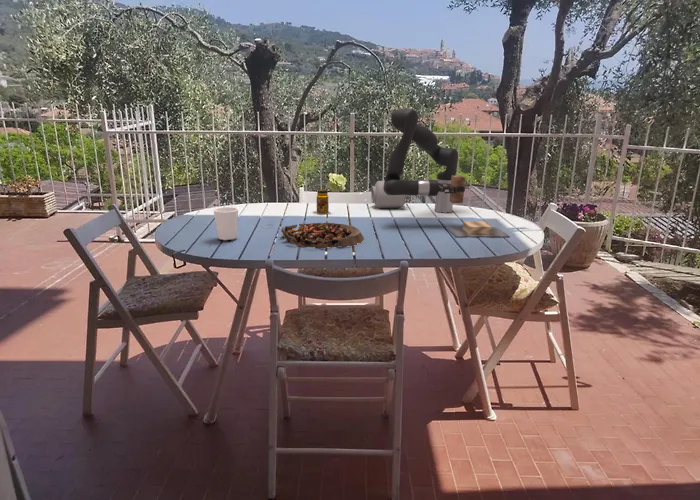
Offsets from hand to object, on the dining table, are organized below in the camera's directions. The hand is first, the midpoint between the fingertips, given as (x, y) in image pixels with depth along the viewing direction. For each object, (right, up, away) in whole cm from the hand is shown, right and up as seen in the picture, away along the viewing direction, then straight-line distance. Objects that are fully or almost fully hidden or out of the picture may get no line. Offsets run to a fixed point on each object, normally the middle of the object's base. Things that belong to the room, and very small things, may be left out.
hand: (462, 188), depth 227 cm
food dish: (-64, -24, -20) cm, 71 cm away
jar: (-35, -6, +40) cm, 53 cm away
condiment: (-67, -10, +27) cm, 73 cm away
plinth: (+5, -21, -7) cm, 23 cm away
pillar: (-3, -6, +2) cm, 7 cm away
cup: (-103, -24, -24) cm, 109 cm away
